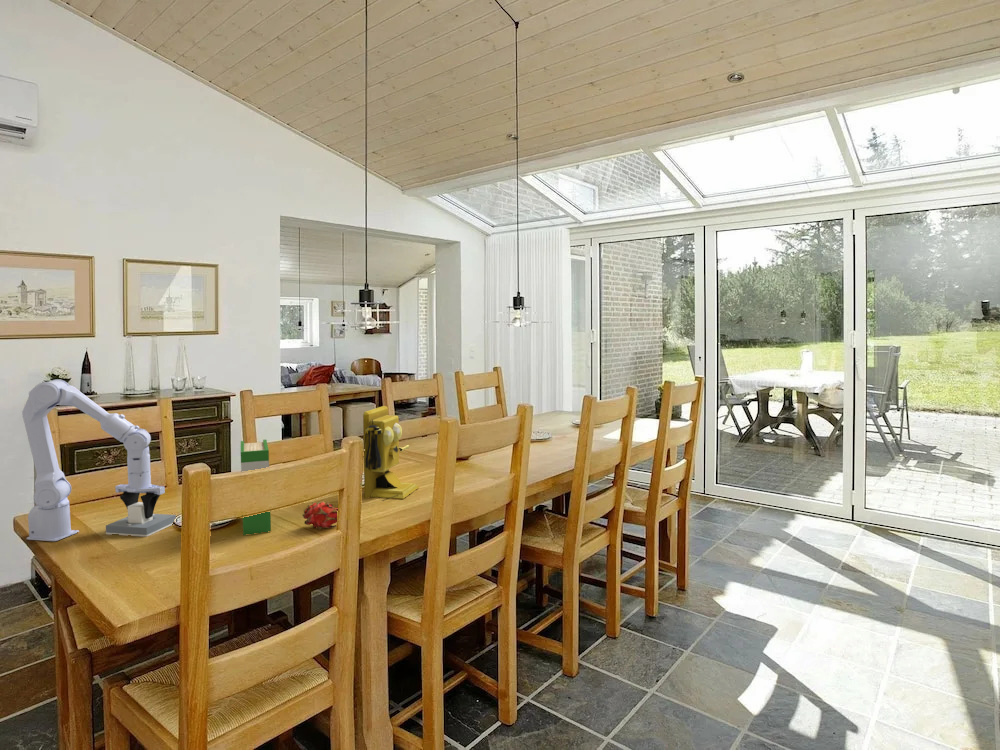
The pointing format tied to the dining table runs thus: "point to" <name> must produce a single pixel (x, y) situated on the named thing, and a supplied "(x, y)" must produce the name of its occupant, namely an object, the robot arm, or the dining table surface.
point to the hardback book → (251, 460)
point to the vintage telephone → (383, 455)
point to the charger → (137, 513)
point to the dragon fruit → (321, 515)
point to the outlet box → (140, 526)
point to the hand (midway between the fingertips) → (141, 517)
